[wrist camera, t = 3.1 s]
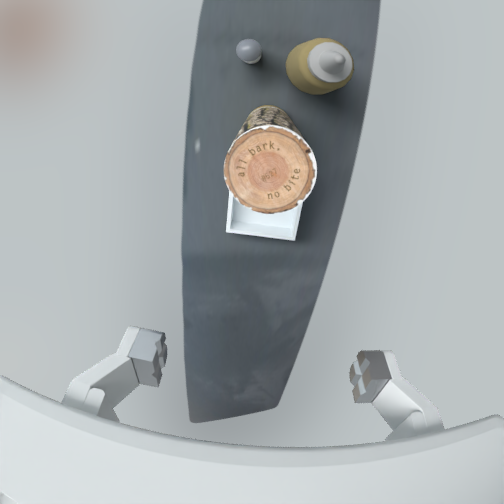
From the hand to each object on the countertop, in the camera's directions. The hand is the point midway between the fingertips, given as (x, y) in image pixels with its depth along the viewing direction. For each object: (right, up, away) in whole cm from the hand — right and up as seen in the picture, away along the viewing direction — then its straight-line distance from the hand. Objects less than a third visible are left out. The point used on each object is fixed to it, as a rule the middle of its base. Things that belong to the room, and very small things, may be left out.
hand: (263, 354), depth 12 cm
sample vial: (-1, +33, +24) cm, 41 cm away
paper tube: (+2, +23, +31) cm, 39 cm away
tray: (+2, +13, +37) cm, 39 cm away
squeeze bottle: (+8, +31, +25) cm, 41 cm away
